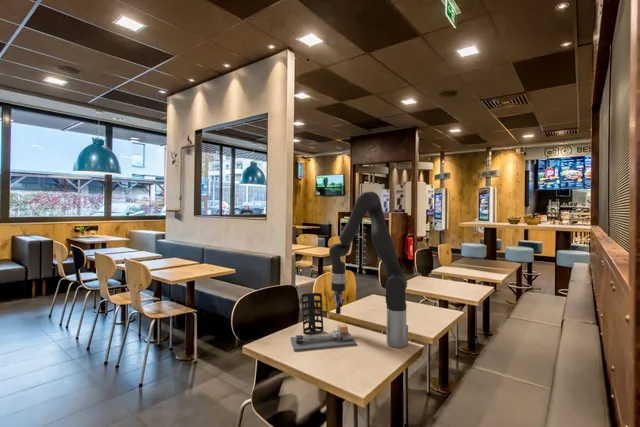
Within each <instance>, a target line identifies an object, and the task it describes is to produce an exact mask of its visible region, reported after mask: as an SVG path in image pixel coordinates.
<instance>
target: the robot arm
mask: <svg viewBox="0 0 640 427" xmlns="http://www.w3.org/2000/svg"><path fill="white" fill-rule="evenodd" d="M367 213H368V216H369V219H370V223H371V224H370V225H371V233H370V235H371V240H372V241H371V242H372V244H373V247H374V249H375V253H376V254H377V256H378V258H379V259H380V261H381V263H382V264H383V266H384V270H385V273H386V276H387V280H386V281H385V304H386V344H387V345H388V346H389V347H391V348H397V349H399V348H405V347H407V346H409V325H408V324H407V301H406V289H407V288H408V280H407V278H406V276H405V273H404V271H403V269H402V267H401V265H400V263H399V259H398V256H397V255H398V254H397V251H396V247H395V245H394V240H393V238H392V236H391V232H390V230H389V227H388V224H387V221H386V218H385V215H384V210H383V207H382V202H381V198H380V196H379V195H378V193H376V192H375V191H364V192H362V193H359V195H358V196H357V198H356V199H355V203H354V206H353V209H352V211H351V214H350V216H349V218H348V220H347V222H346V224H345V225H344V228H343V229H342V231H341V232H340V234H339V236H338V238H339V243H334V244H331V246H330V247H329V250H328V253H329V259H330V263H331V282H330V283H331V285H330V286H331V287H330V288H331V291H332V292H334V293H332V294H333V295H332V296H333V297H332V298H333V302H334V305H335V314H336V315H341V313H342V312H341V309H342V308H343V305H344V301H345V300H344V296H343V292H345V291H346V284H347V283H346V279H347V278H346V263H345V262H344V261H342V260H341V257H342V258H343V257H345V256H346V255H347V254H348V253H349V252H350V249H351V245H352V242H353V240H354V239H355V238H356V236H357V234H358V232H359V229H360V225H361V221H362V220H363V218H364V217H365V215H366V214H367Z"/></svg>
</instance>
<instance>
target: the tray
mask: <svg viewBox="0 0 640 427" xmlns="http://www.w3.org/2000/svg"><path fill="white" fill-rule="evenodd" d="M290 342H291V345H292V348H293V352H301V351H303V352H304V351H313V350H322V349H332V348H343V347H351V346H353V347H354V346H357V345H358V344H357V342H356V340H355V339H354V338H353V341H345V342H343V341H342V340H341V338H340V340H327V341H317V342H306V343H301V344H297V343H296V340H295V336H291V337H290Z"/></svg>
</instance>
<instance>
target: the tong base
mask: <svg viewBox="0 0 640 427" xmlns="http://www.w3.org/2000/svg"><path fill="white" fill-rule="evenodd" d="M330 334H333V335H332V337H329V338H312V339H303V340H297V339H296V343H297V344H301V343H306V342H317V341H327V340H340V338H341V340H342V341H343V342H345V341H353V339H354V337H353V336H352V335H351V333H350V332H349V331H348V333H340V332H339V331H338V329H337V330H331V331H330Z"/></svg>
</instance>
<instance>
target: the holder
mask: <svg viewBox="0 0 640 427" xmlns="http://www.w3.org/2000/svg"><path fill="white" fill-rule="evenodd" d="M306 297H307V300H304V298H306ZM315 297H319V299H315ZM319 305H320V306H319ZM316 310H319V311H320V313H318V312H317V313H316ZM305 311H307V314H306V313H305ZM301 313H302V330H303V334H304V335H317V334H321V333H323V332H324V316H323V296H322V293H319V292H312V293H311V292H309V293H303V294H301ZM319 317H320V318H319ZM316 323H320V325H321V326H318V325H317V326H316ZM306 324H308V326H307V327H306V326H305V325H306Z"/></svg>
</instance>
